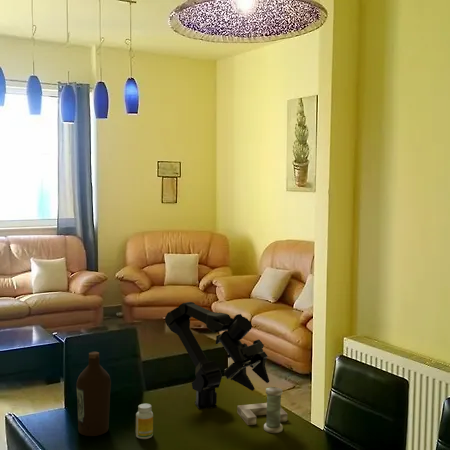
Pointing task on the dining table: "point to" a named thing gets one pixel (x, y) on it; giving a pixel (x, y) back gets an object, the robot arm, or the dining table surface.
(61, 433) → the dining table surface
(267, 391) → the bobbin
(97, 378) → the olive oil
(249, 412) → the notched board
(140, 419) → the supplement bottle
